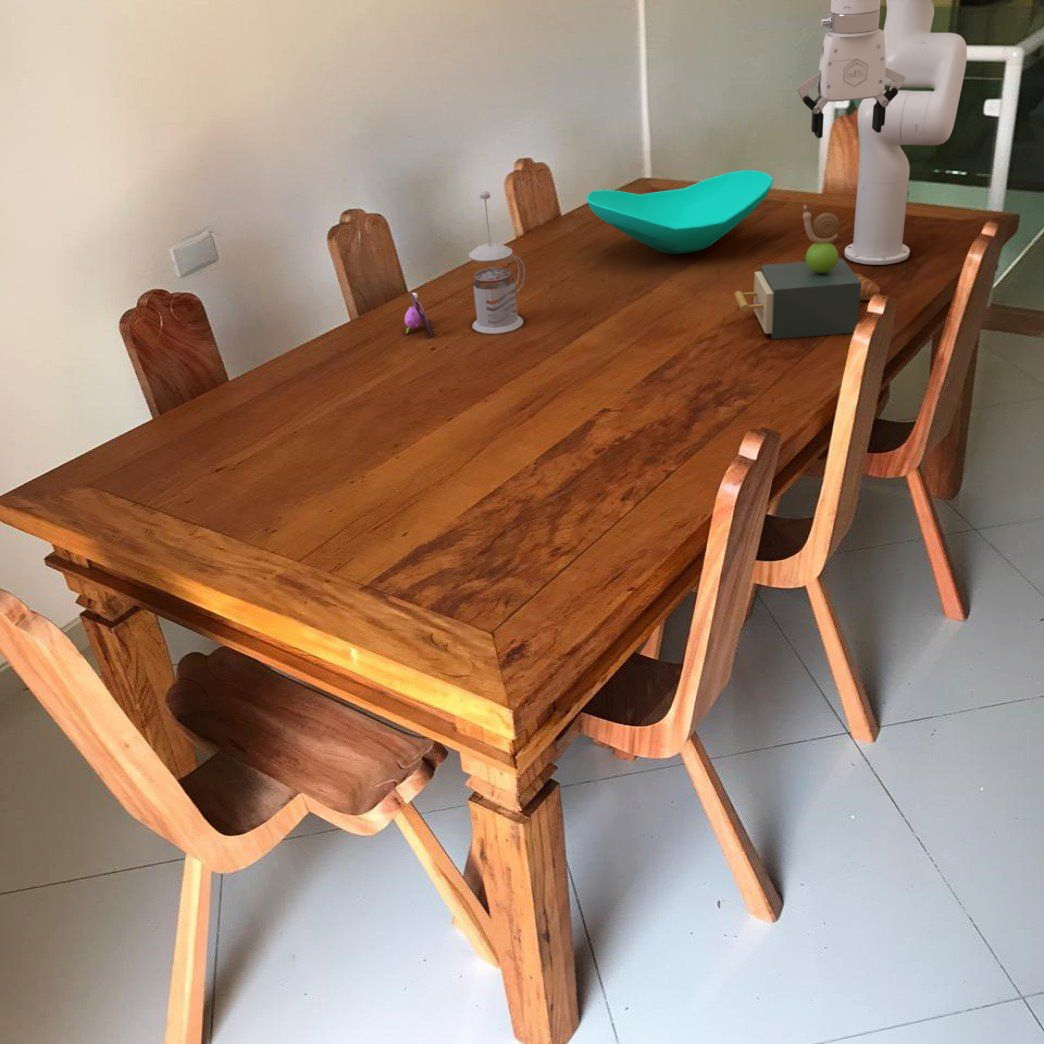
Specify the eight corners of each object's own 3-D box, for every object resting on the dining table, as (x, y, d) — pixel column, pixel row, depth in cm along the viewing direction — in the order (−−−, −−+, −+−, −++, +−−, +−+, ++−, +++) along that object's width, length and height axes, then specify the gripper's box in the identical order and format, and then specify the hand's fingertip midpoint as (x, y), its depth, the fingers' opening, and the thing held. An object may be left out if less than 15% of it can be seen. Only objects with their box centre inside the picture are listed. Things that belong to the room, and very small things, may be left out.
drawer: (742, 335, 192) (743, 295, 188) (732, 311, 201) (732, 273, 198) (843, 327, 191) (846, 287, 187) (827, 304, 201) (830, 265, 197)
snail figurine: (795, 269, 194) (798, 201, 188) (831, 265, 194) (835, 197, 188) (804, 279, 189) (808, 210, 183) (841, 276, 189) (846, 206, 183)
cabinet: (772, 339, 191) (774, 289, 187) (759, 313, 202) (760, 265, 197) (857, 332, 191) (861, 282, 186) (839, 306, 202) (842, 258, 197)
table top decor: (745, 219, 250) (746, 159, 243) (793, 255, 227) (796, 190, 220) (575, 243, 246) (572, 183, 239) (606, 282, 222) (603, 217, 215)
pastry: (886, 294, 205) (888, 274, 203) (867, 306, 201) (869, 286, 199) (842, 285, 211) (843, 265, 209) (822, 296, 207) (823, 276, 205)
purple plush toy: (420, 304, 202) (414, 288, 209) (395, 317, 202) (390, 301, 210) (436, 335, 205) (430, 318, 213) (412, 347, 206) (406, 330, 213)
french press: (462, 324, 210) (446, 193, 197) (510, 307, 215) (498, 178, 202) (491, 337, 203) (477, 202, 190) (541, 319, 208) (530, 187, 195)
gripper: (804, 32, 172) (799, 144, 182) (916, 21, 171) (906, 134, 181) (794, 24, 179) (790, 133, 188) (902, 13, 178) (893, 123, 187)
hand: (847, 133), depth 184 cm, fingers open, 9 cm apart
